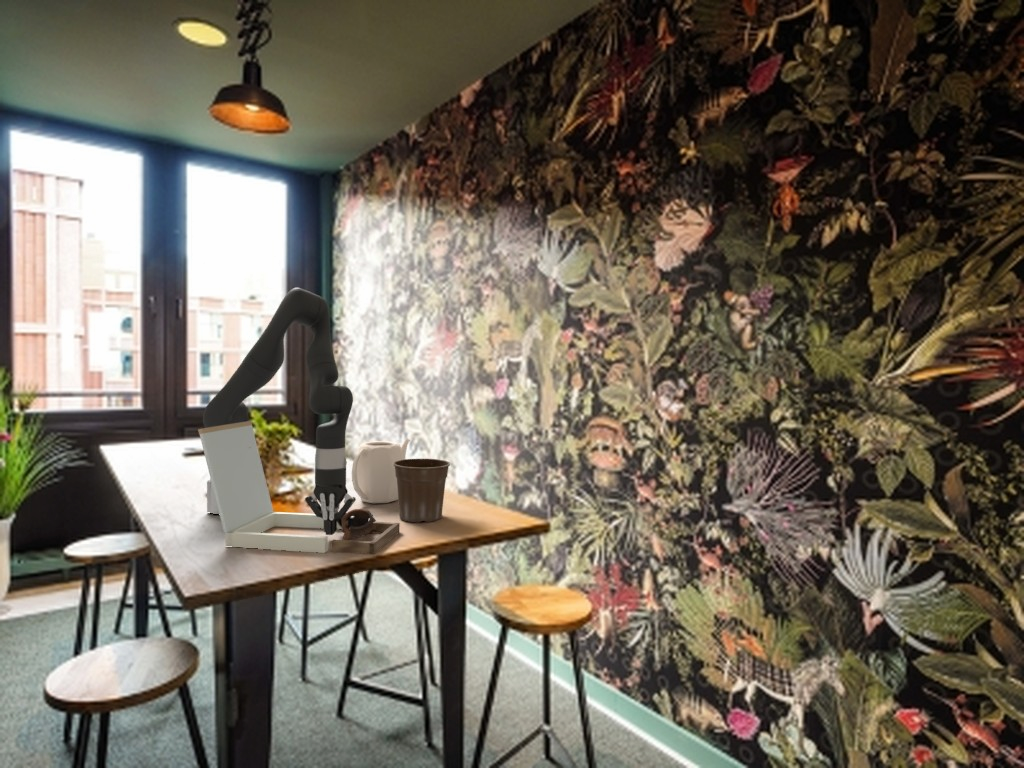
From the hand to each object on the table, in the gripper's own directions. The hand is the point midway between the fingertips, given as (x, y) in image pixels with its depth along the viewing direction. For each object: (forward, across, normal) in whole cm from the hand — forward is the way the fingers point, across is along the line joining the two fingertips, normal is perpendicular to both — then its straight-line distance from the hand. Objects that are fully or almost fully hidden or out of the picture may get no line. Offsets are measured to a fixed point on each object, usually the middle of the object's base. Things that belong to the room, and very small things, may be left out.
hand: (330, 534), depth 151 cm
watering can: (+1, -3, +46) cm, 46 cm away
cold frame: (+1, -13, 0) cm, 13 cm away
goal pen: (+2, +9, 0) cm, 9 cm away
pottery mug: (+2, +5, +4) cm, 7 cm away
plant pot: (+2, +16, +26) cm, 30 cm away
